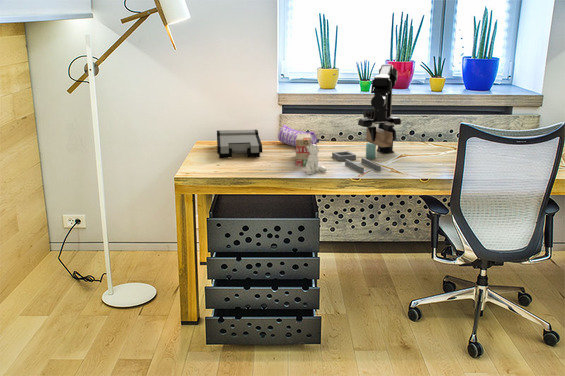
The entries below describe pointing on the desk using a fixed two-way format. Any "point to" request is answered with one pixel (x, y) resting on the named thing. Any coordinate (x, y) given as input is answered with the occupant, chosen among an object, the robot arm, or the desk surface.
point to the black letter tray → (238, 143)
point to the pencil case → (293, 136)
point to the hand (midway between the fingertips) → (378, 140)
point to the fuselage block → (380, 138)
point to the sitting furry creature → (314, 161)
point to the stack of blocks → (302, 149)
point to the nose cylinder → (370, 151)
